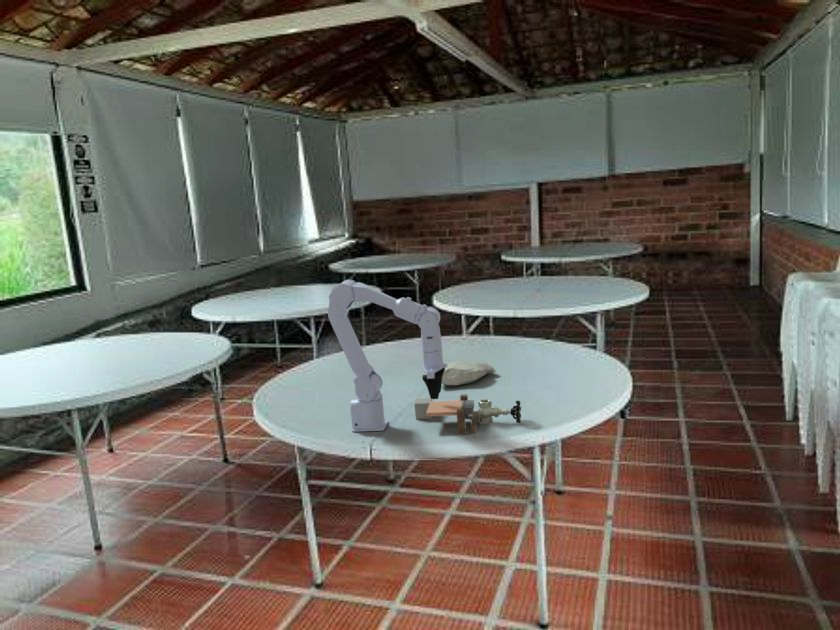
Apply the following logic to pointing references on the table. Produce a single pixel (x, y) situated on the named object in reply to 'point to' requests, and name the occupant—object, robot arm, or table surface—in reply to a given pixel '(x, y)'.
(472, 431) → the frame
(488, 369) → the rock
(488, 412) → the valve
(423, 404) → the stone block
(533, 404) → the table surface
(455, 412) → the trapdoor
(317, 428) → the table surface
